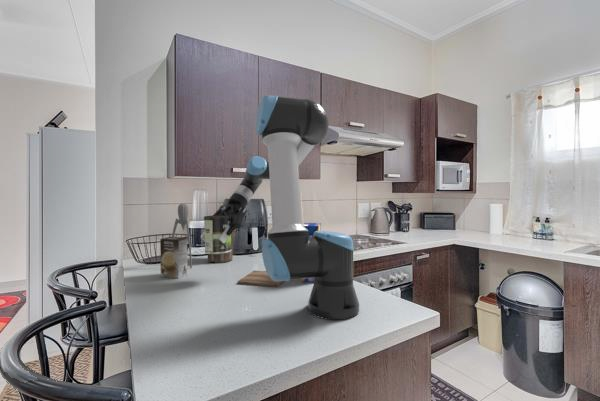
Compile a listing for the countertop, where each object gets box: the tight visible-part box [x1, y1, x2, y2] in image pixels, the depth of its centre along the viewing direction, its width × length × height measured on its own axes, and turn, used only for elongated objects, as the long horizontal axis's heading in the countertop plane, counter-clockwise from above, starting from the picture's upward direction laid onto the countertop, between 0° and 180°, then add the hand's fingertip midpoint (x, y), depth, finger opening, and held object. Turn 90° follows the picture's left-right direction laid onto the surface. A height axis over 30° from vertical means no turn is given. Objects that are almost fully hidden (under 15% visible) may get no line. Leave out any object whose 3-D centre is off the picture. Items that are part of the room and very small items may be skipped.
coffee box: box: [159, 236, 188, 279], centre depth 125 cm, size 9×6×16 cm
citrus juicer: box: [171, 202, 193, 269], centre depth 141 cm, size 11×10×30 cm
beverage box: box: [300, 222, 322, 283], centre depth 121 cm, size 7×11×22 cm, turn 171°
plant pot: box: [203, 228, 238, 264], centre depth 153 cm, size 16×16×16 cm
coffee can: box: [203, 214, 231, 255], centre depth 118 cm, size 10×10×14 cm
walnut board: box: [237, 270, 284, 288], centre depth 120 cm, size 16×16×1 cm
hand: (212, 240), depth 115 cm, fingers closed on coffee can, 10 cm apart
